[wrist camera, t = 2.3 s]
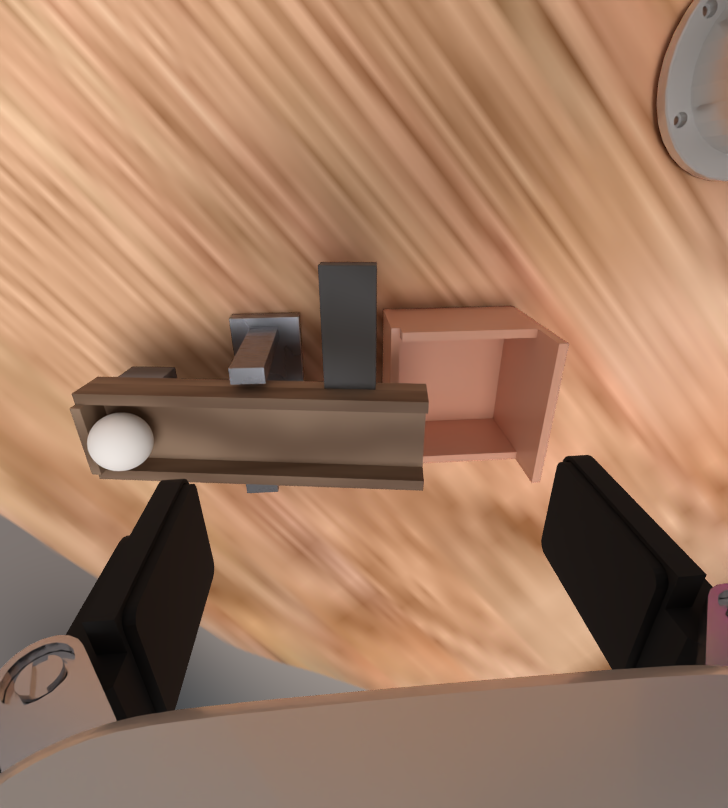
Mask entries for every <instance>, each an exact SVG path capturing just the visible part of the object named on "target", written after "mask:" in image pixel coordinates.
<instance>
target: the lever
mask: <svg viewBox="0 0 728 808" xmlns="http://www.w3.org/2000/svg"><path fill="white" fill-rule="evenodd" d="M318 274H319V294H320V313H321V332H322V352H323V371H324V382H319V381H272V380H267V381H266V383H265V384H237V385H231V384H230V380H225V379H178V378H177V375H176V371H175V367H131V368H130V369H129V370H127V371H126V372H124V373H123V374H121V375H120V376H119V377H97V378H95V379H94V380H92V381H91V382H89V383H87V384H86V385H84V386H83V387H81V388H80V389H78V390H77V391H75V392H74V393H72V396H73V399H74V402H75V405H74V406H73V407H71V408H70V411H71V414H72V417H73V420H74V423H75V426H76V429H77V432H78V435H79V437H80V440H81V443H82V446H83V449H84V452H85V455H86V458H87V461H88V464H89V467H90V470H91V472H92V474H96V475H99V477H100V479H121V480H148V481H162V480H170V479H187V481H188V482H203V483H230V484H258V485H285V486H313V487H340V488H367V489H395V490H422V491H423V484H424V479H423V468H422V466H423V450H424V434H425V418H426V414H428V408H429V400H428V393H427V386H426V384H413V383H376V329H377V262H321V263H320V264H319V265H318ZM113 413H130V414H134V415H136V416H138V417H140V418H142V419H143V420H144V421H145V422H146V423H147V424H148V425H149V427H150V428H151V430H152V433H153V437H154V444H153V448H152V451H151V453H150V455H149V457H148V458H147V459H146V460H145V461H144V462H143V463H142V464H140V465H139V466H137V467H135V468H133V469H130V470H126V471H112V470H108V469H105V468H103V467H101V466H100V465H98V464H97V463H96V462H95V461H94V460H93V459H92V457H91V456H90V454H89V451H88V447H87V439H88V435H89V432H90V430H91V428H92V427H93V425H94V424H95V423H96V422H97V421H99V420H100V419H101V418H103V417H105V416H107V415H110V414H113Z"/></svg>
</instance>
